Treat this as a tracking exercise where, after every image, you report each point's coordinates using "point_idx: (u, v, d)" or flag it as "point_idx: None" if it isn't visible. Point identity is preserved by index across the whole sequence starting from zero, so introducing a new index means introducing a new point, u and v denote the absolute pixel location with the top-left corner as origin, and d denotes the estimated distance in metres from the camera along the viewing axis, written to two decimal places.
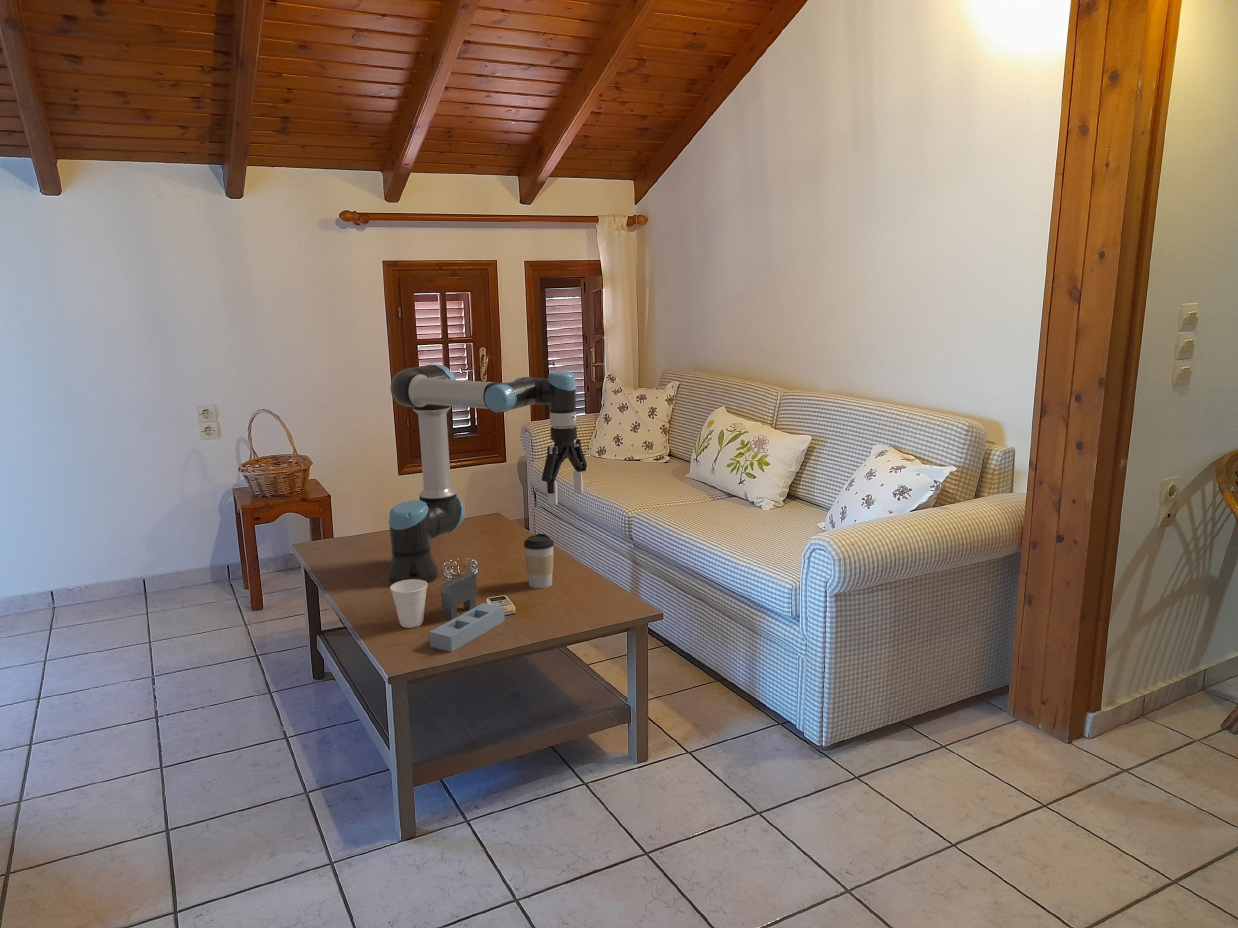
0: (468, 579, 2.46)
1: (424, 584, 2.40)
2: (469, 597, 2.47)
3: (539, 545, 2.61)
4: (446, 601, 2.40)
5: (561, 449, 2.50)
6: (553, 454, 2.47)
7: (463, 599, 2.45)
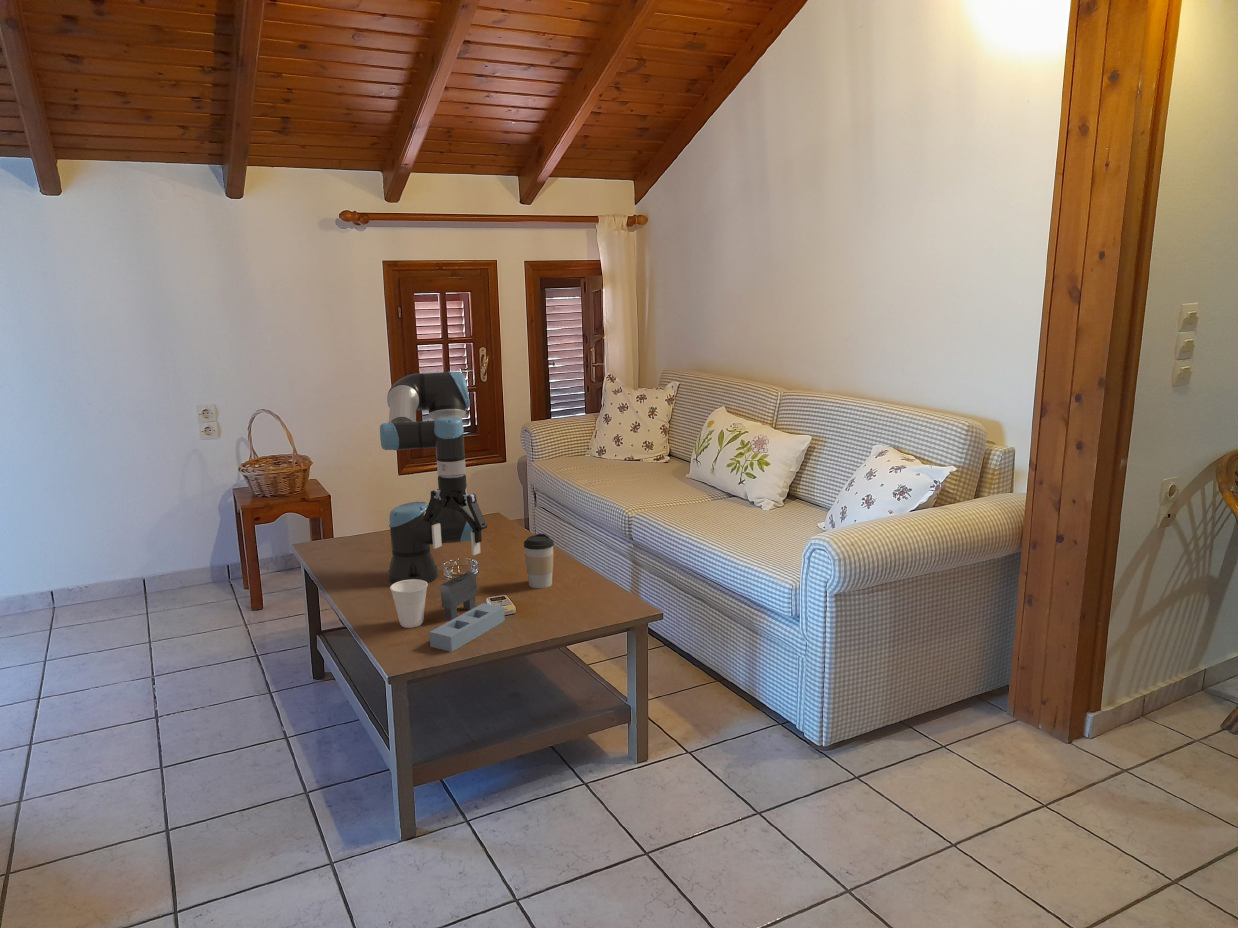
0: (468, 579, 2.46)
1: (424, 584, 2.40)
2: (469, 597, 2.47)
3: (539, 545, 2.61)
4: (446, 601, 2.40)
5: (441, 496, 2.40)
6: None
7: (463, 599, 2.45)
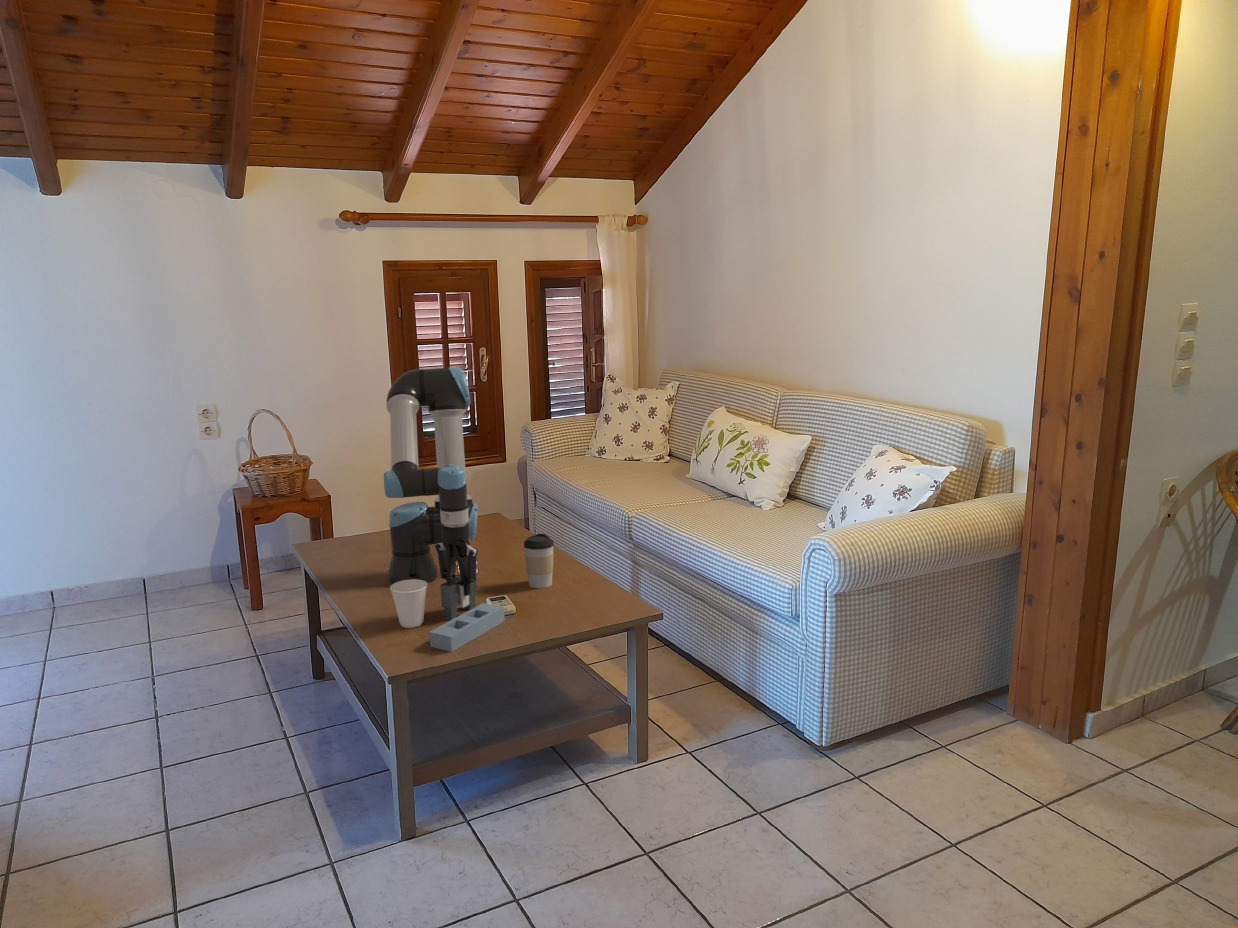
0: None
1: (424, 584, 2.40)
2: (469, 597, 2.47)
3: (539, 545, 2.61)
4: (446, 601, 2.40)
5: (445, 544, 2.43)
6: None
7: None
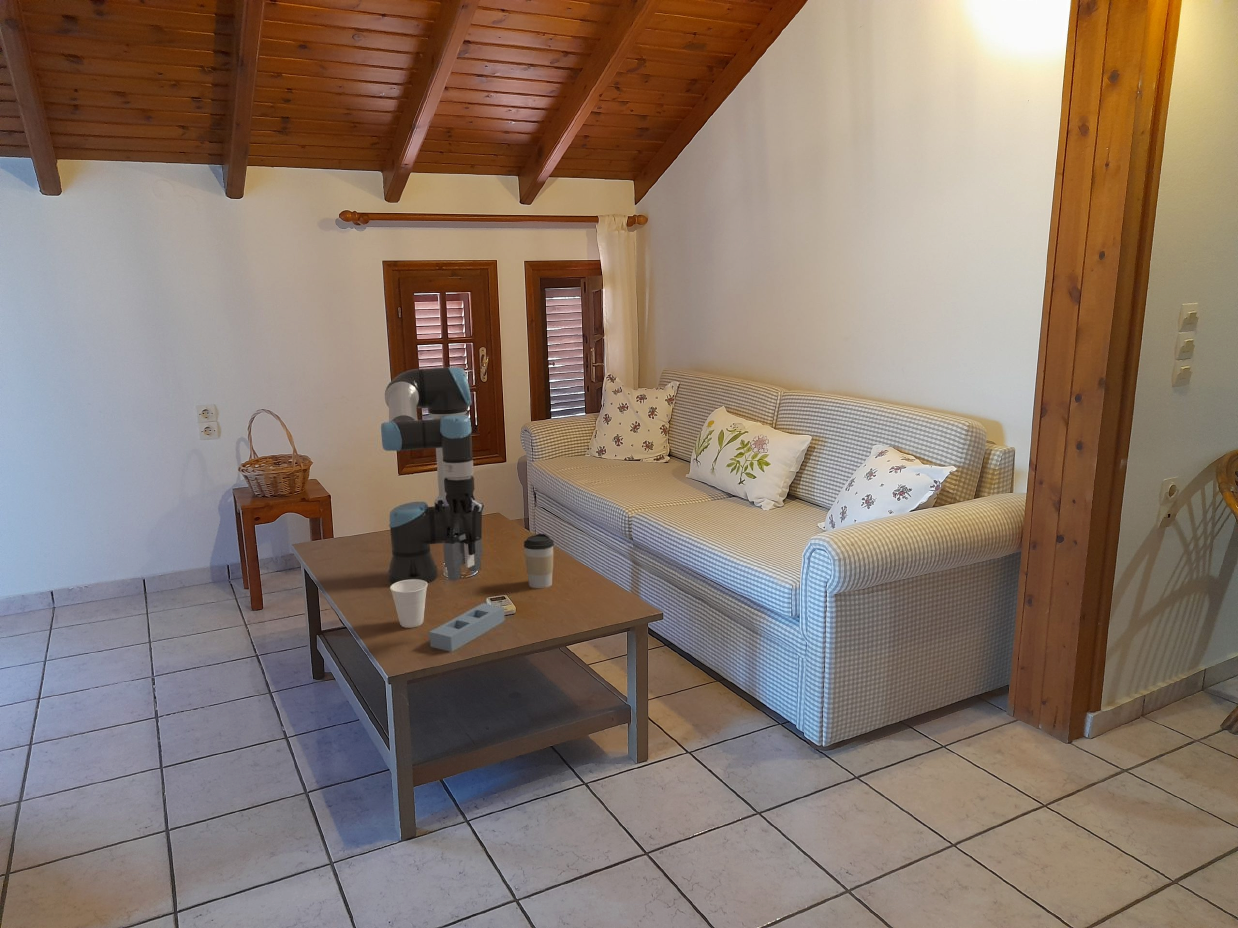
0: None
1: (424, 584, 2.40)
2: (474, 557, 2.30)
3: (539, 545, 2.61)
4: (450, 560, 2.23)
5: (448, 499, 2.26)
6: None
7: None
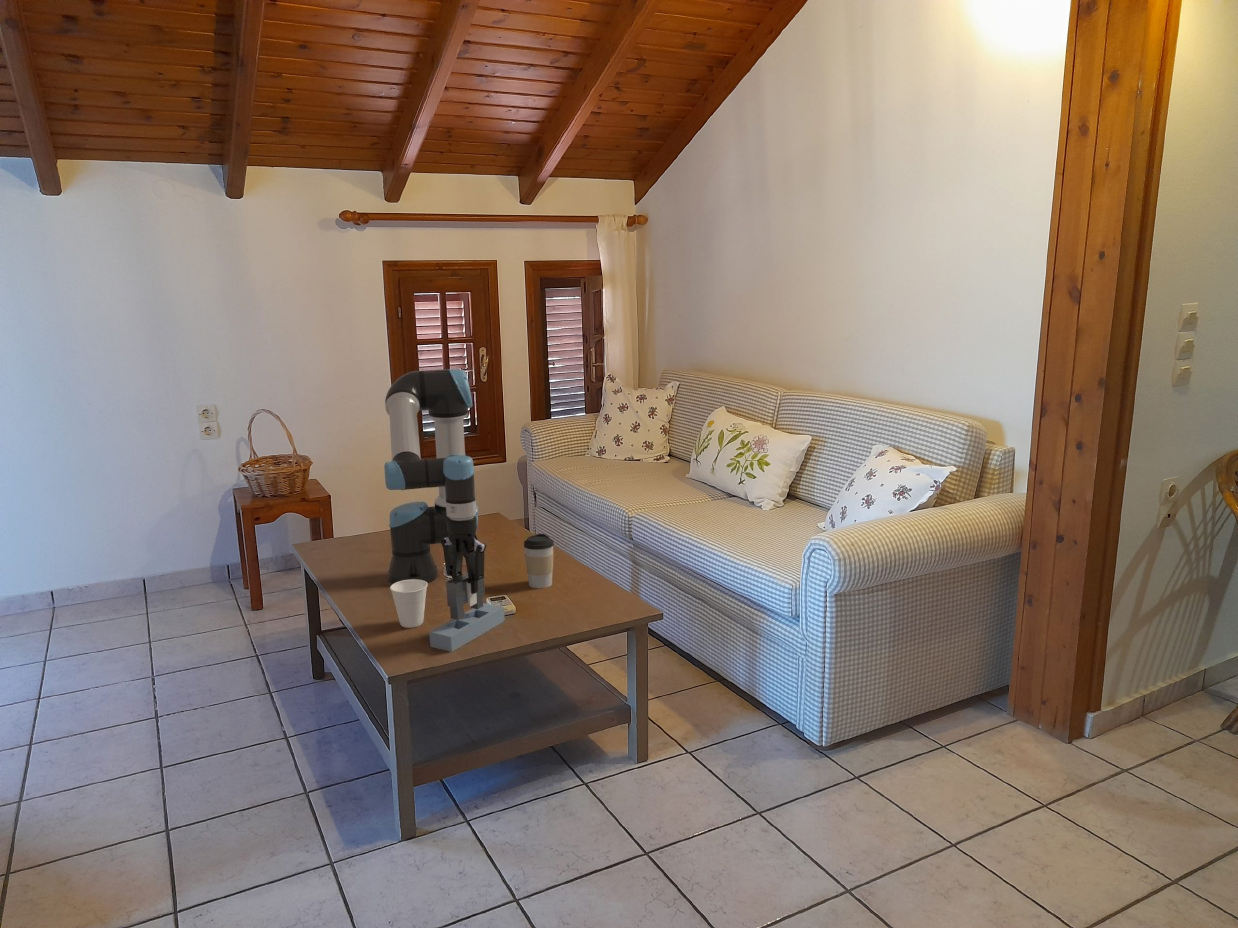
0: None
1: (424, 584, 2.40)
2: None
3: (539, 545, 2.61)
4: (452, 599, 2.25)
5: (451, 538, 2.28)
6: None
7: None
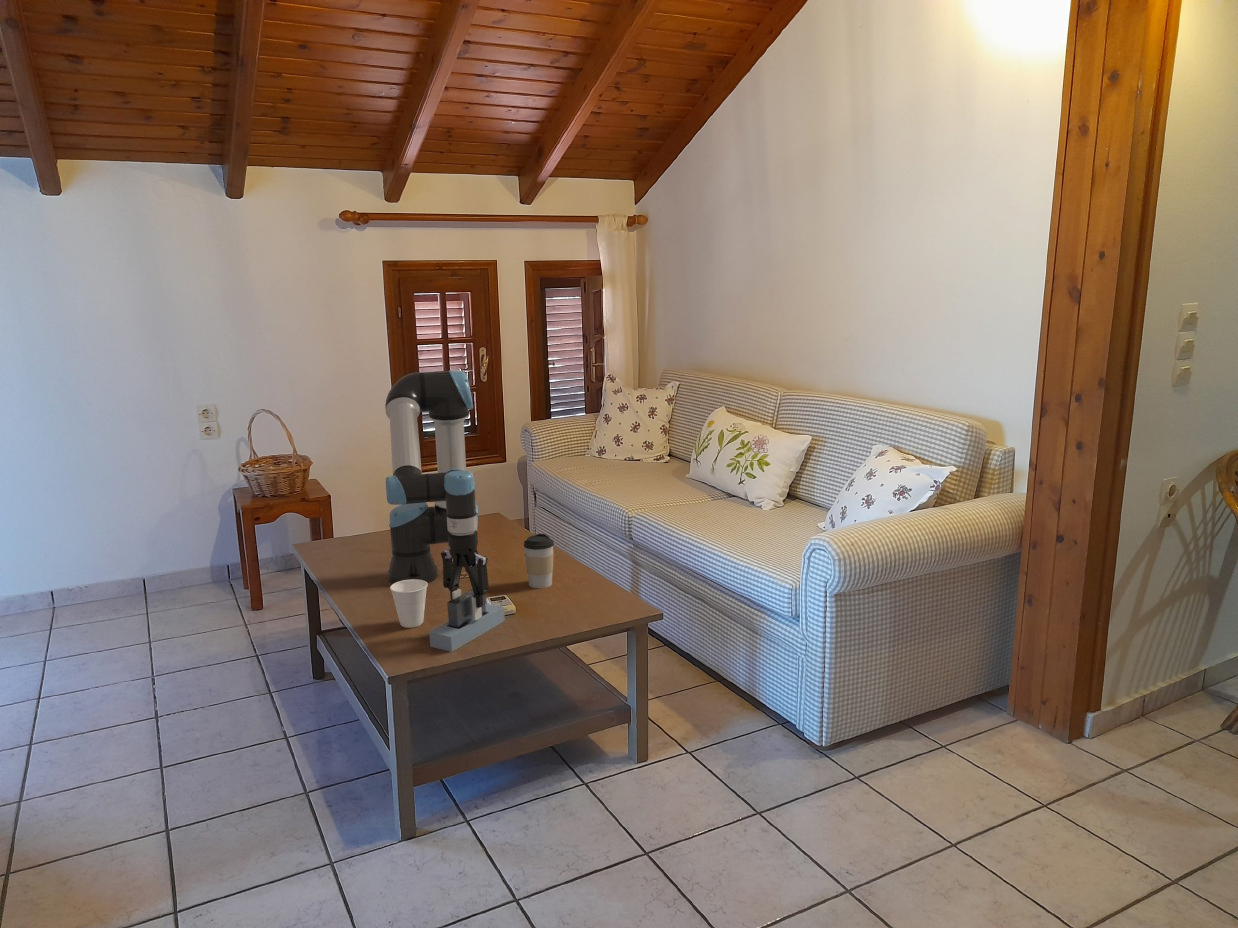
0: None
1: (424, 584, 2.40)
2: None
3: (539, 545, 2.61)
4: (454, 619, 2.26)
5: (452, 553, 2.29)
6: None
7: (471, 617, 2.31)
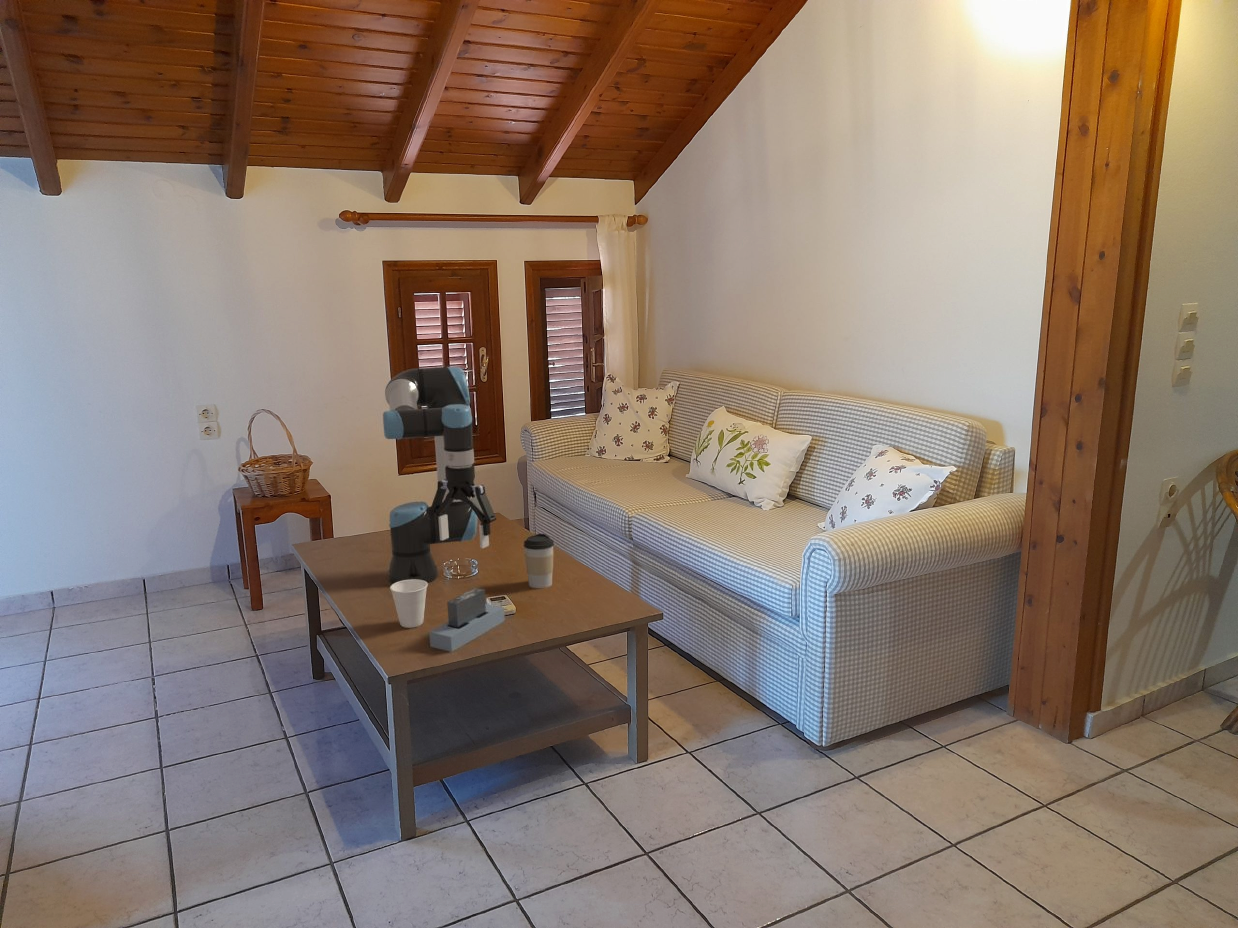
0: (477, 595, 2.32)
1: (424, 584, 2.40)
2: (477, 614, 2.33)
3: (539, 545, 2.61)
4: (454, 619, 2.26)
5: (449, 487, 2.31)
6: None
7: (471, 617, 2.31)
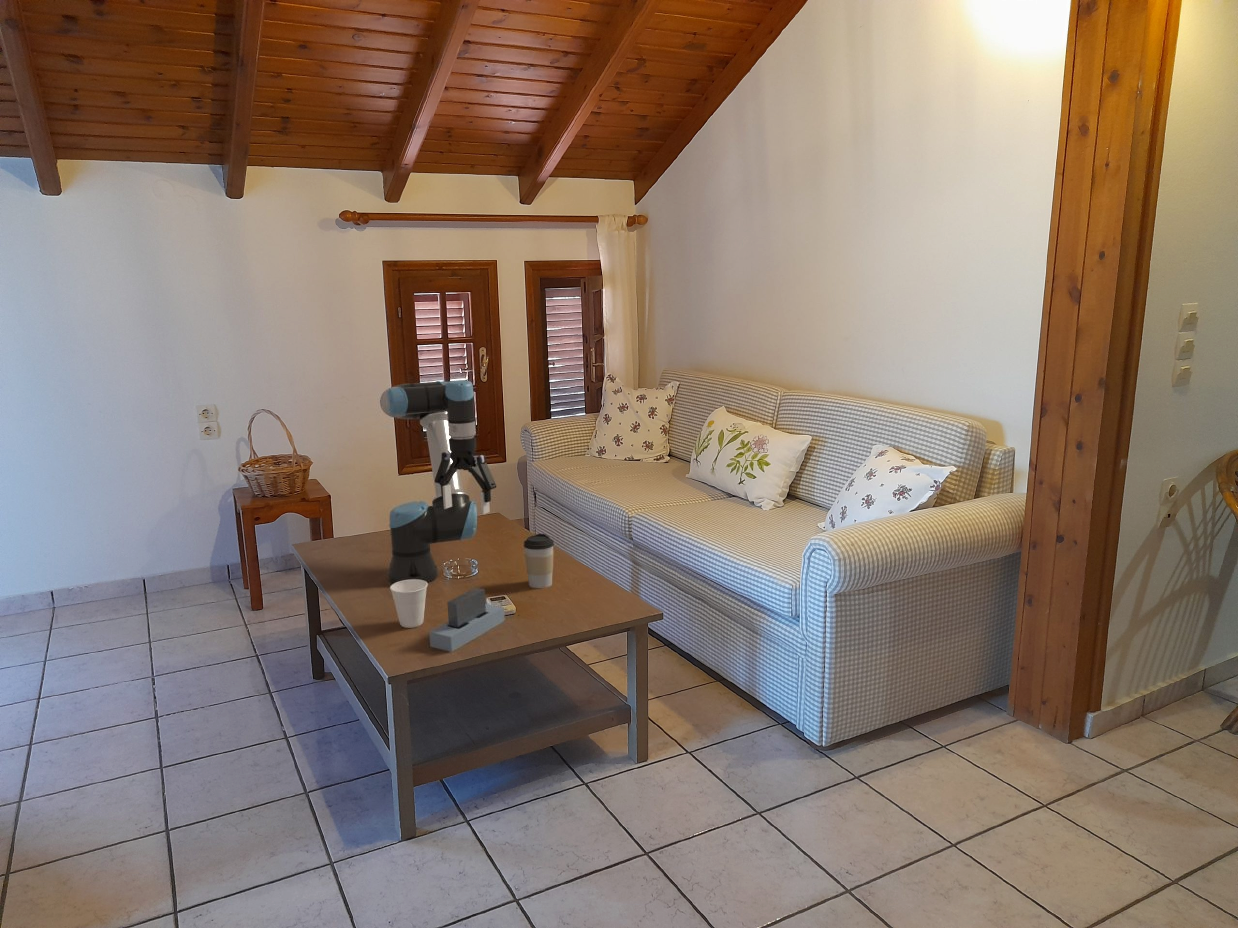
0: (477, 595, 2.32)
1: (424, 584, 2.40)
2: (477, 614, 2.33)
3: (539, 545, 2.61)
4: (454, 619, 2.26)
5: (452, 457, 2.48)
6: None
7: (471, 617, 2.31)
